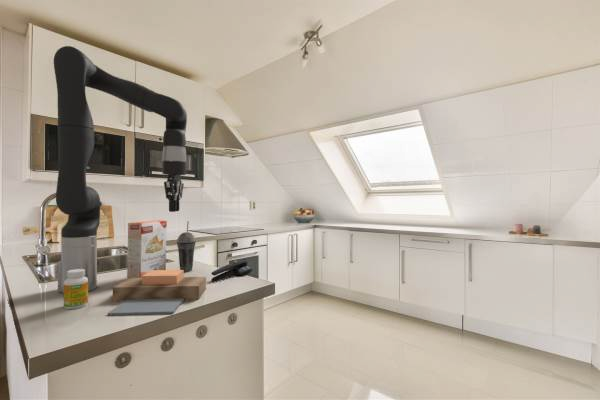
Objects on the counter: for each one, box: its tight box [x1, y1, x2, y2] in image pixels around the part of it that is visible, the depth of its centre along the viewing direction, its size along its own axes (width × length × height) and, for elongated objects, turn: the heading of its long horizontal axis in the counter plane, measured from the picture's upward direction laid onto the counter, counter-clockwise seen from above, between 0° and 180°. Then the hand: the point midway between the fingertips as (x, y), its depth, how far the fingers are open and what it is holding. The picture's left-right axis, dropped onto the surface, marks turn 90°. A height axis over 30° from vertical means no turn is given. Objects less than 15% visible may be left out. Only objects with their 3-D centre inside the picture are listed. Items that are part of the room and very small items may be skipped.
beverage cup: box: [176, 220, 196, 273], centre depth 122 cm, size 7×7×20 cm
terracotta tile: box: [142, 269, 185, 284], centre depth 94 cm, size 10×7×2 cm
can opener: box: [210, 259, 253, 282], centre depth 115 cm, size 18×7×6 cm, turn 143°
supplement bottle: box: [63, 269, 89, 310], centre depth 83 cm, size 5×5×10 cm
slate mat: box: [107, 298, 185, 316], centre depth 82 cm, size 16×10×1 cm, turn 96°
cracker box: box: [126, 219, 168, 279], centre depth 111 cm, size 14×6×21 cm, turn 168°
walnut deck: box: [112, 276, 207, 302], centre depth 93 cm, size 24×10×4 cm, turn 96°
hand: (174, 211), depth 103 cm, fingers open, 3 cm apart
